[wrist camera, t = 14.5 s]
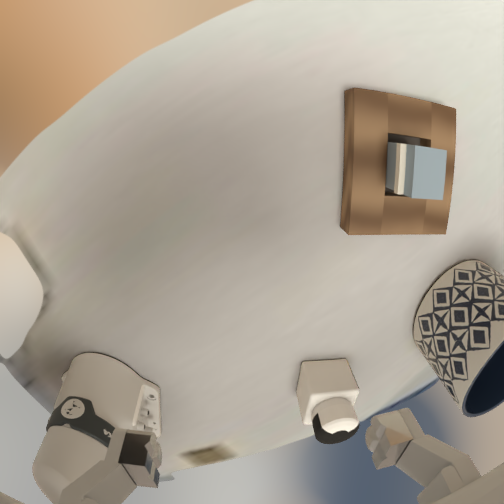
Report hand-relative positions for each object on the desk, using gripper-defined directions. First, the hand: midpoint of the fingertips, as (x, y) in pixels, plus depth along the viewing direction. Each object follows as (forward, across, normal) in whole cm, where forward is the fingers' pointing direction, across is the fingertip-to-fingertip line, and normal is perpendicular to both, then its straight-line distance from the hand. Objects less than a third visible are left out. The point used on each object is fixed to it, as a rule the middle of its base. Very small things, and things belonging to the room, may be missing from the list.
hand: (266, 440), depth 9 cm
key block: (+26, +18, +8) cm, 32 cm away
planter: (+27, +35, -14) cm, 46 cm away
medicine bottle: (+28, +12, -24) cm, 38 cm away
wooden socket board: (+26, +19, +8) cm, 33 cm away
